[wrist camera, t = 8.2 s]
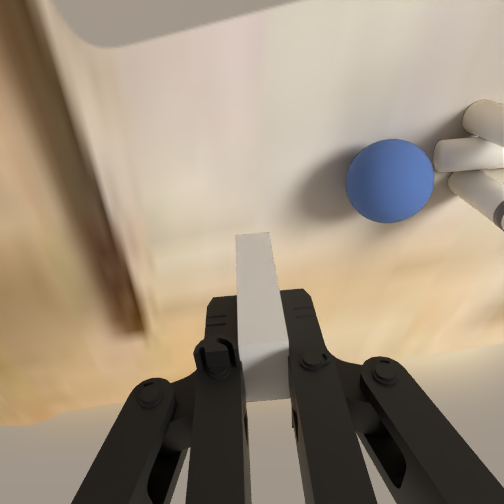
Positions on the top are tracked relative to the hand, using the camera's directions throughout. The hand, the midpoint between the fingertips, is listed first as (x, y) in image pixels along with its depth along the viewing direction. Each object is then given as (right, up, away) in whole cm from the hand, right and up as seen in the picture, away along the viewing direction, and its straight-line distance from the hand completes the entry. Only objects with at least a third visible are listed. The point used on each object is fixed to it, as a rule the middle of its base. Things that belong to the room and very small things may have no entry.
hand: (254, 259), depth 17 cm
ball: (+10, +6, +9) cm, 15 cm away
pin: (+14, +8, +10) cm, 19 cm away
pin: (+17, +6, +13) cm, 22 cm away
